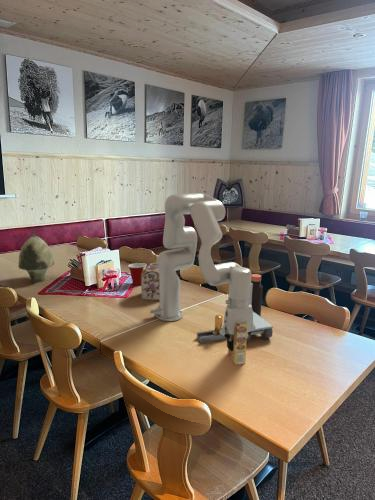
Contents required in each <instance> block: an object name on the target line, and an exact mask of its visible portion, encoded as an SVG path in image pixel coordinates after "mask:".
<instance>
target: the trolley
mask: <svg viewBox="0 0 375 500" xmlns="http://www.w3.org/2000/svg"><path fill="white" fill-rule="evenodd" d="M252 288H253V284H252V283H251V290H250V305H251V303H252ZM253 324H254V326H255V327H256V328H255V329H254V330H253V331H252V332H251V334H250V335H249V337H248V338H247V343H248V342H250V341H251V340H252V335H258V334H260V336H261V337H262V339H264V340H266V339H269V338H270V339H271V338H272V336H273V328H274V326H273V325H272V324H270V323H269V322H268V321H267V320H266V319H264V318H263V317H261V316H259V315H257V314H256V313H255V312H253Z"/></svg>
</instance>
